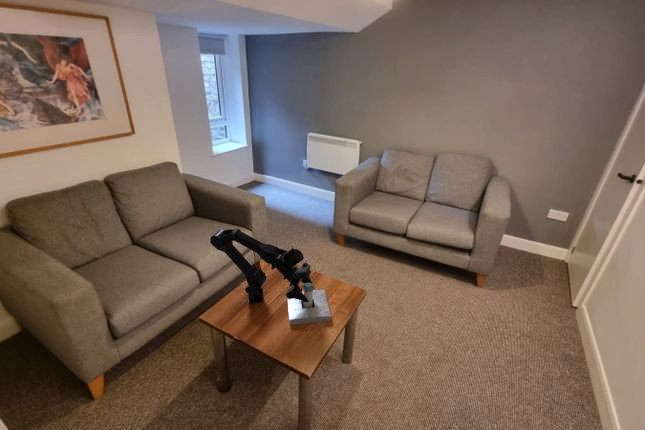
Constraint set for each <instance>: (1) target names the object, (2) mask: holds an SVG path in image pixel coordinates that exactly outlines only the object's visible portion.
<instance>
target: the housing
mask: <svg viewBox="0 0 645 430" xmlns="http://www.w3.org/2000/svg"><path fill="white" fill-rule="evenodd" d="M325 290H326V289H315V290H314V289H313V299H312V305H313V307H312V308H304V307H303V306H304V301H301V300H298V299H294V298H293V299H290V300H289V299H288V298H287V297H286V298H287V299H286V300H287V312H288V324H289V326H291V325H302V324H313V323H324V322H325V323H327V322H331V321H332V320H331V318H332V314H331V310H330V307H329V303H328V300H327V294H326V291H325ZM302 293H303V294H304V290H302ZM302 305H303V306H302Z"/></svg>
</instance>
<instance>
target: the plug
mask: <svg viewBox="0 0 645 430" xmlns="http://www.w3.org/2000/svg"><path fill="white" fill-rule="evenodd" d="M313 288H314V289H315V286H314V284H313V282H312V283H305V284H304V283H303V286H302V291H304V295H305V297H306V298H307V299H308V300H309V302H308V303H307V302H304V305H303V309H304V308H313V304H312V299H313V290H314V289H313Z"/></svg>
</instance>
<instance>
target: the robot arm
mask: <svg viewBox="0 0 645 430" xmlns="http://www.w3.org/2000/svg"><path fill="white" fill-rule="evenodd" d="M209 242H210V244H211V245H212V247H214V248H215V249H216V250H217V251H220V252H223V253H224V254H225V255H226V256H227V257H228V258H229V259H230V260H231V261H232V262H233V263H234V265H235V266H236V267H237V268H238V269H239V270H240V272H242V274H244V276H245V278H246V283H247V285H246V287H245V288H244V291H245V293H247V296H248V297H247V298H248V299H247V300H248V301H247V303H248V304H258V303H263V299H264V288H263V286H264V284H265V283H266V282H267V278H268V277H267V275H266V272H264V271H263V269H262V268H260V267H259V268H258V269H257V268H255V267H254V266H252V264H251V263H250V262H249V261H248V260H247V258H246V257H245V256H244V255H243V254H242V253H241V252H240V251H239V250H238V249H237V248H236V247H235V245H234V243H233V242H236V243H238V244H240V245H241V246H243V247H245V248H247V249H249V250H250V251H253V252H254V253H256V254H257V255H258V257H260V259H261V260H262V261H264V262H265V263H267V264H268V265H270V267H271V271H273V270H274V269H276V270H277V271H278V272H279V273H280V274H281V275H282V277H283V278H282V279H283V281H285V280H286V281H288V283H289V286H290V288H288V290H287V291H286V293H285V297H286V298H288V299H289V300H290V299H293V298H294V299H298V300H301V301H304V302H307V303H308V302H309V300H308V299H307V298H306V297H305V295H304V294H303V293H302V291H303V288H301V287H300V284H301V283H302V284H303V285H304V284H305V283H312V284H313V282H312V280H311V274H312V271H311V268H312V267H311V266H310V265H309V264H308V262H303V263H302V265H301V267H300V268H298V267H297V265H298V264H299V263H301V262H302V261H303V260H304V253H303V252H302V251H301V250H299V249H297V248H294V247H292V248H291V249H289V250H286V249H283V248H279V247H278V246H275V245H273V244H269V243H264V242H261V241H260V240H258V239H257V238H254V237H252V236H251V235H248V234H247V233H245V232H243V231H241V229H240V228H233V229H231V228H228V229H219V230H218V231H216V232H215V233H214V234H213V235H212V236H211V237H210V241H209ZM314 289H315V287H314V288H313V290H314Z"/></svg>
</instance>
